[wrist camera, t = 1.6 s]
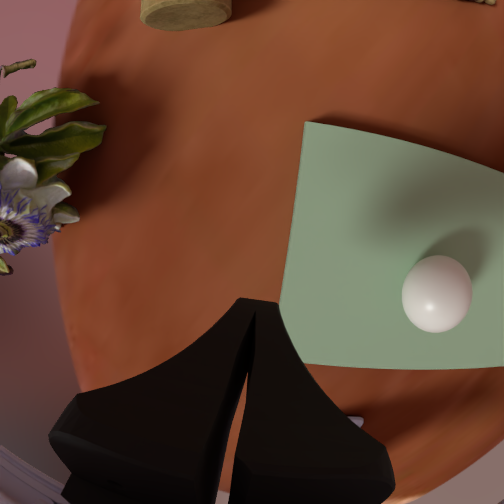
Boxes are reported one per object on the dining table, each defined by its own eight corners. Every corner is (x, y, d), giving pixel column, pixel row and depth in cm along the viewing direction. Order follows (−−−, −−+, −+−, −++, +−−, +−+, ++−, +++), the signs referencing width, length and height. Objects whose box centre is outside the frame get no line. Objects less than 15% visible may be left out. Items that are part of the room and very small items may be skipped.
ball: (439, 309, 16) (465, 348, 12) (384, 304, 16) (403, 347, 13) (461, 249, 14) (496, 280, 11) (403, 238, 15) (433, 271, 11)
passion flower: (97, 197, 23) (-6, 289, 17) (41, 96, 18) (-71, 178, 12) (159, 170, 16) (-15, 324, 9) (76, 16, 11) (-114, 131, 4)
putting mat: (532, 352, 18) (539, 361, 17) (272, 344, 20) (270, 358, 19) (586, 215, 13) (597, 220, 11) (304, 122, 15) (306, 121, 13)
